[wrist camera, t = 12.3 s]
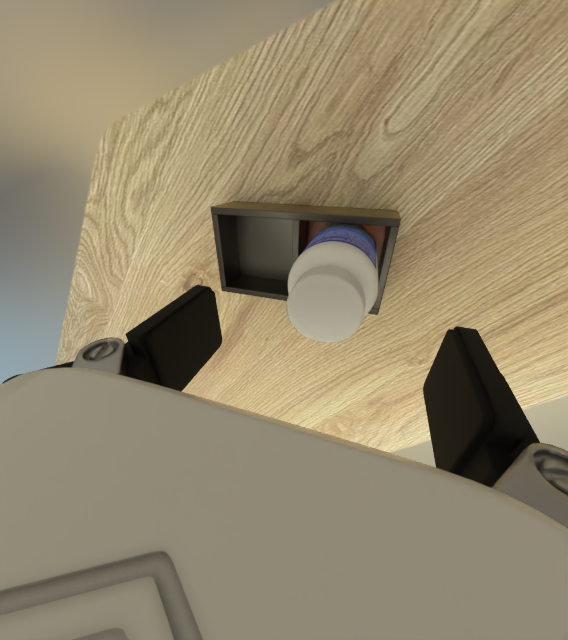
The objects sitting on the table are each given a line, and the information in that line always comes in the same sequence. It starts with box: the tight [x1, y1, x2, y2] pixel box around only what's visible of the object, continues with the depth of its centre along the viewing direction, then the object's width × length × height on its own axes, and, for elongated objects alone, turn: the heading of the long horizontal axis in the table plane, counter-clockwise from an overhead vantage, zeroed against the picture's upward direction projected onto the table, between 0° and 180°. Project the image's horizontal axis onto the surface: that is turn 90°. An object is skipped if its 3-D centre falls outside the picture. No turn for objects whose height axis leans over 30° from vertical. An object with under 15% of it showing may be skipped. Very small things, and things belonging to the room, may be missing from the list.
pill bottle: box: [287, 223, 378, 343], centre depth 17 cm, size 5×5×10 cm
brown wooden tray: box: [211, 201, 401, 315], centre depth 21 cm, size 7×14×4 cm, turn 89°
